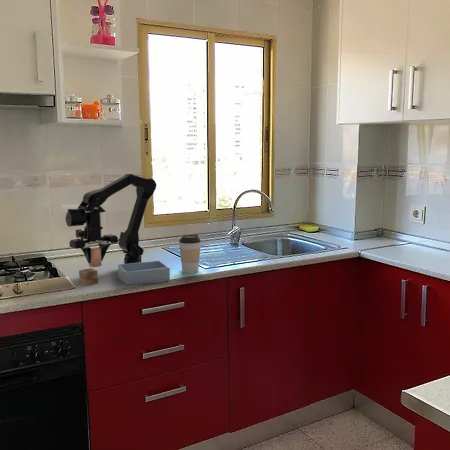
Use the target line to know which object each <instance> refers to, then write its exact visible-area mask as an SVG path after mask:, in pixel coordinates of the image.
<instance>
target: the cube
mask: <svg viewBox="0 0 450 450" xmlns="http://www.w3.org/2000/svg"><path fill="white" fill-rule="evenodd" d="M78 277H79V284H80V285H81V284H82V285H84V286H90V285H91V286H92V285H96V284H99V279H98V278H99V276H98V270H97V269H94V268H93V267H89V268H86V269H79V270H78Z"/></svg>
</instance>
